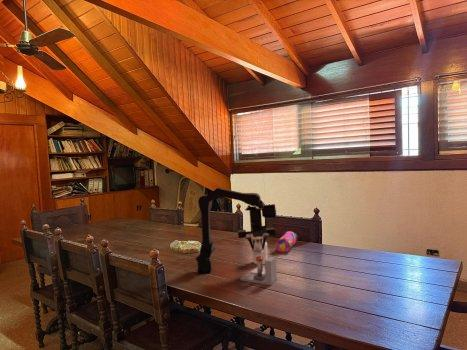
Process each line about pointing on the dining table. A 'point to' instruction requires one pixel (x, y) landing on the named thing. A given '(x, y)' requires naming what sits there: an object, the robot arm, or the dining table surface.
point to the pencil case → (286, 242)
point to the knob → (257, 246)
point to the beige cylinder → (261, 255)
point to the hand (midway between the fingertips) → (257, 249)
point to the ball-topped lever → (259, 269)
